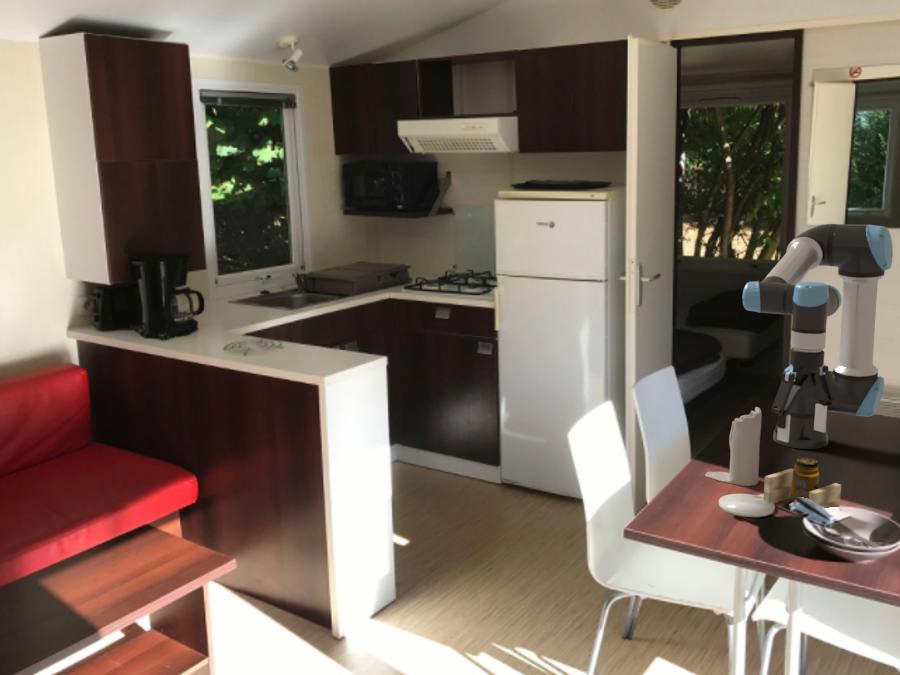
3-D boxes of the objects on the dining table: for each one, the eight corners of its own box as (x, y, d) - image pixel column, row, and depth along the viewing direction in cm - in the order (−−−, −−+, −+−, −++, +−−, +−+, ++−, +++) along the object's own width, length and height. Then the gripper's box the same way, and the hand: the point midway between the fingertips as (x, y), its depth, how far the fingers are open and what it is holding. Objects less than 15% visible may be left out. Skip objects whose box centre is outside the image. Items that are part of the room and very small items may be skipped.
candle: (709, 469, 248) (713, 398, 244) (761, 479, 240) (765, 406, 236) (700, 477, 243) (703, 405, 238) (752, 488, 235) (757, 413, 231)
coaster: (742, 492, 232) (742, 489, 231) (786, 509, 221) (786, 506, 221) (707, 504, 225) (707, 501, 225) (750, 521, 214) (750, 518, 214)
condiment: (824, 509, 221) (828, 461, 218) (802, 517, 216) (806, 468, 214) (798, 499, 227) (801, 453, 224) (776, 507, 222) (779, 460, 220)
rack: (779, 491, 232) (781, 464, 231) (850, 516, 216) (852, 488, 214) (753, 499, 227) (754, 472, 226) (824, 526, 211) (826, 497, 209)
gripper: (826, 339, 224) (820, 423, 228) (758, 352, 210) (753, 440, 215) (854, 345, 217) (847, 430, 222) (786, 358, 204) (780, 449, 208)
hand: (801, 435), depth 218 cm, fingers open, 13 cm apart
